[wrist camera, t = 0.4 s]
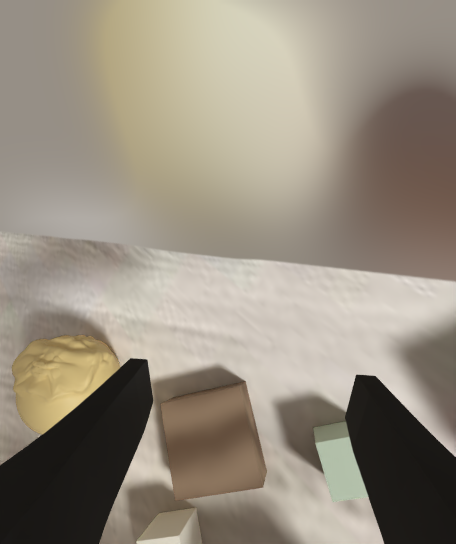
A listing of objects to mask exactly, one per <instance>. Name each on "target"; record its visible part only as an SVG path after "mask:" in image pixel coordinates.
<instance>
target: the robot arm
mask: <svg viewBox="0 0 456 544" xmlns="http://www.w3.org/2000/svg"><path fill="white" fill-rule="evenodd" d="M152 404H153V396H152V389H151V382H150V375H149V368H148V361H147V360H146V359H132V358H131V359H130V360H128V361H127V362H126V363H125V364H124V365H123V366H122V367H120V368H119V369H118V370H117V371H116V372H115V373H114V374H113V375H112V376H111V377H110V378H108V379H107V380H106V381H105V382H104V383H103V384H102V385H101V386H100V387H99V388H97V389H96V390H95V391H94V392H93V393H92V394H91V395H89V396H88V397H87V398H86V399H85V400H84V401H83V402H81V403H80V404H79V405H78V406H77V407H76V408H75V409H73V410H72V411H71V412H70V413H69V414H67V415H66V416H65V417H64V418H62V419H61V420H60V421H59V422H58V423H56V424H55V425H54V426H53V427H51V428H50V429H49V430H48V431H46V432H45V433H44V434H43V435H41V436H40V437H39V438H37V439H36V440H35V441H33V442H32V443H31V444H29V445H28V446H27V447H25V448H24V449H23V450H21V451H20V452H18V453H17V454H16V455H14V456H13V457H11V458H10V459H9V460H7V461H6V462H4V463H3V464H2V465H0V544H99V542H100V539H101V536H102V533H103V530H104V527H105V524H106V521H107V519H108V516H109V514H110V511H111V509H112V506H113V504H114V501H115V499H116V497H117V494H118V492H119V489H120V487H121V485H122V482H123V480H124V478H125V475H126V473H127V471H128V468H129V466H130V464H131V461H132V459H133V457H134V454H135V452H136V450H137V447H138V445H139V443H140V440H141V438H142V435H143V433H144V430H145V427H146V424H147V421H148V418H149V414H150V411H151V407H152ZM345 419H346V424H347V428H348V433H349V437H350V442H351V446H352V450H353V453H354V456H355V459H356V462H357V465H358V468H359V471H360V474H361V477H362V480H363V483H364V485H365V488H366V491H367V494H368V497H369V500H370V503H371V506H372V508H373V511H374V514H375V517H376V520H377V523H378V526H379V529H380V532H381V534H382V538H383V541H384V544H456V457H455V456H454V455H453V454H452V453H450V452H449V451H448V450H447V449H446V448H445V447H444V446H443V445H442V444H441V443H440V442H439V441H438V440H437V439H436V438H435V437H434V436H433V435H432V434H431V433H430V432H429V431H428V430H427V429H426V428H425V427H424V426H423V425H422V424H421V423H420V422H419V421H418V420H417V419H416V418H415V417H414V416H413V415H412V414H411V413H410V412H409V411H408V410H407V409H406V408H405V406H404V405H403V404H402V403H401V402H400V401H399V400H398V399H397V398H396V397H395V396H394V395H393V394H392V393H391V392H390V391H389V390H388V389H387V388H386V387H385V385H384V384H383V383H382V382H381V381H380V380H379V379H378V378H377V377H376V376H368V375H356V378H355V382H354V385H353V389H352V393H351V397H350V401H349V404H348V408H347V412H346V416H345Z"/></svg>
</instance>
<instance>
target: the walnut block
mask: <svg viewBox="0 0 456 544" xmlns="http://www.w3.org/2000/svg"><path fill="white" fill-rule="evenodd" d="M160 405H161V412H162V418H163V425H164V431H165V438H166V444H167V451H168V457H169V464H170V470H171V477H172V483H173V490H174V496H175V501H178V500H184V499H191V498H197V497H204V496H211V495H217V494H224V493H230V492H237V491H243V490H250V489H256V488H263V485H264V481H265V477H266V473H267V470H266V465H265V461H264V457H263V453H262V449H261V444H260V440H259V436H258V432H257V428H256V423H255V419H254V415H253V411H252V407H251V403H250V398H249V394H248V390H247V386H246V382H245V381H244V382H240V383H236V384H231V385H227V386H222V387H218V388H213V389H209V390H205V391H200V392H196V393H191V394H187V395H183V396H178V397H174V398H172V399H169V400H167V401H165V402H163V403H161V404H160Z"/></svg>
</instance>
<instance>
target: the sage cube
mask: <svg viewBox="0 0 456 544" xmlns="http://www.w3.org/2000/svg"><path fill="white" fill-rule="evenodd" d="M313 430H314V437H315V444H316V447H317V450H318V454H319V457H320V461H321V464H322V467H323V471H324V474H325V478H326V481H327V484H328V488H329V491H330V495H331V498H332V501H333V502H337V501H344V500H351V499H358V498H365V497H368V494H367V491H366V488H365V485H364V483H363V480H362V477H361V474H360V471H359V468H358V465H357V462H356V459H355V456H354V453H353V450H352V446H351V442H350V437H349V433H348V428H347V424H346V421H344V422H338V423H333V424H328V425H323V426H318V427H313Z"/></svg>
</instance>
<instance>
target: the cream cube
mask: <svg viewBox="0 0 456 544" xmlns="http://www.w3.org/2000/svg"><path fill="white" fill-rule="evenodd" d="M136 543H137V544H202V538H201V532H200V527H199V521H198V515H197V509H196V508H190V509H183V510H177V511H170V512H164V513H159V514H158V515H157V516H156V517H155V519H154V520H153V521H152V522H151V524H150V525H149V526H148V527H147V529H146V530H145V531H144V532H143V534H142V535H141V536H140V537H139V539H138V540H137V541H136Z"/></svg>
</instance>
